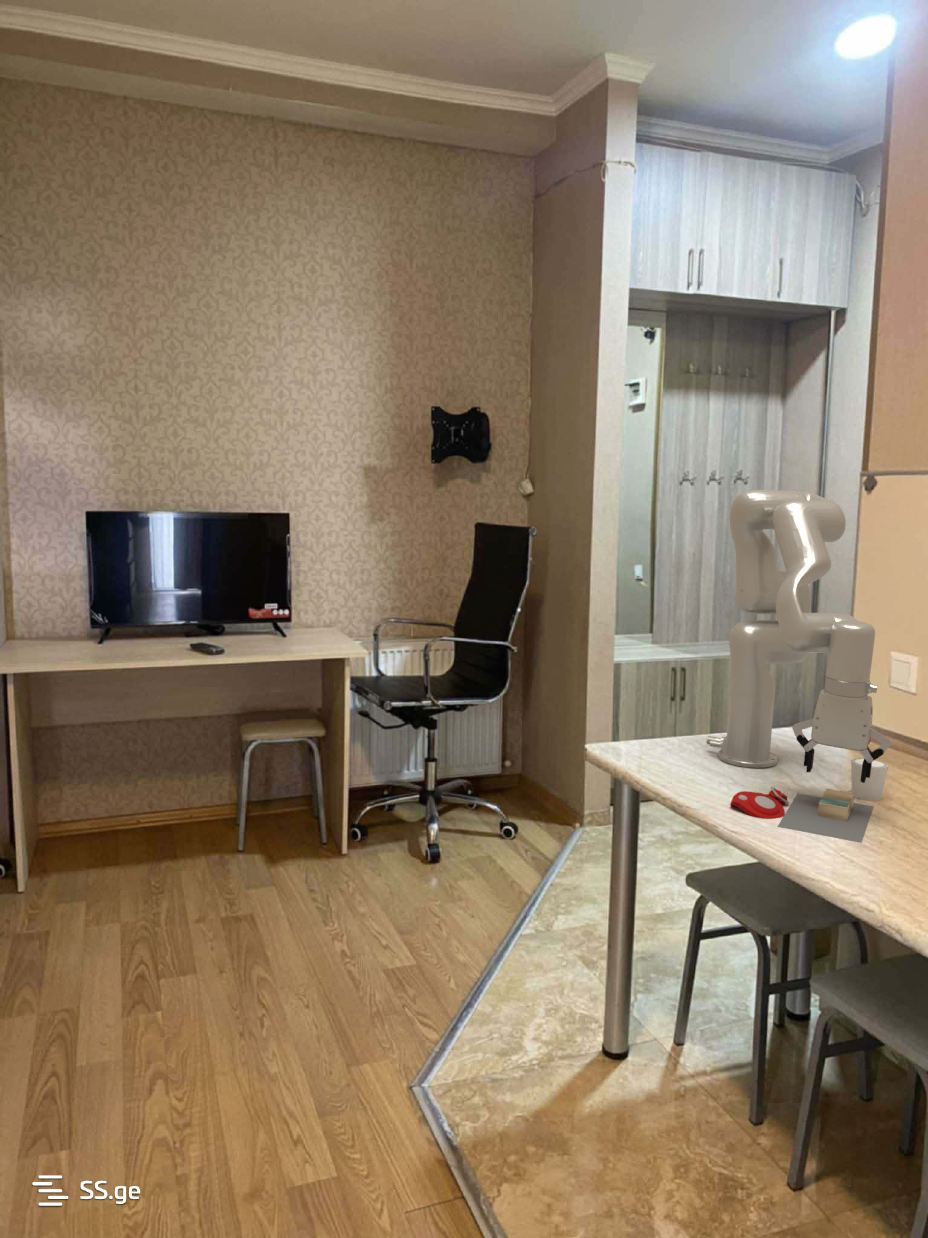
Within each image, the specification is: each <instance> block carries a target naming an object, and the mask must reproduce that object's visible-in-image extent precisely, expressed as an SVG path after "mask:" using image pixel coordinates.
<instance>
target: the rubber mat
mask: <svg viewBox="0 0 928 1238" xmlns="http://www.w3.org/2000/svg"><path fill="white" fill-rule="evenodd" d="M822 797H823V796H815V795H810V794H804V793H796V795H795V797H794V798H793V800H792V802H791V803H790V805H789V806H788V808H787V810H786V811H785V814H784V816H783V817H781V820H780V822H779V823H778V825H777V828H782V829H788V830H792V831H797V832H802V833H803V832H804V833H808V834H815V835H818V836H819V835H820V836H823V837H828V838H834V839H839V840H846V841H850V842H856V843H861V844H862V843H863V840H864V836H865V834H866V830H867V828H868V824H869V821H870V819H871V816H872V813H873V810H874V806H873V805H868V804H862V803H858V802H857V803H856V802H853V807H852V810H851V812H850V814H849V817H848V819H847V821H842V820H837V819H831V818H826V817H821V816H818V808H819V802H820V800H821V798H822Z"/></svg>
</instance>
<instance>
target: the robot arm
mask: <svg viewBox="0 0 928 1238" xmlns="http://www.w3.org/2000/svg"><path fill="white" fill-rule="evenodd" d="M846 525H847V520H846V516H845V513H844V511H843V509H842V508H841V506H840V505H838V504H837V503H836V502H835V501H833V500H831V499H828V498H825V497H824V496H823V497H822V496H820V495H818V494H816V493H813V492H809V491H805V490H804V491H802V490H780V489H779V490H778V489H751V490H746V491H743V492H741V493H739V494H738V495H736V496H735V498H734V499H733V501H732V503H731V507H730V511H729V528H730V533H731V536H732V541H733V545H734V550H735V553H734V554H735V596H736V597H735V598H736V603H737V606H738V609H739V610H740V612H741V611H742V612H743V613H745V614H752V615H776V620H772V619H765V620H764V619H756V620H755V619H754V620H745V621H741V622H738V623H736V624H735V625H734V626H733V627H732V629H731V630H730V633H729V637H728V639H729V640H728V643H729V644H728V645H729V653H730V654H729V657H730V682H729V683H730V685H729V700H728V701H729V702H728V712H727V725H726V736H722V737H721V738H720V737H717V736H713V735H712V736H711V735H707V739H706V744H707V745H709V746H710V747H712V748H720V750H719V751H718V753H717V757H718V759H719V760H720V761H722V762H724V763H726V764H729V765H733V766H737V767H744V768H755V769H757V768H759V769H761V768H762V769H763V768H764V769H765V768H770V767H773V766H775V765H776V764H777V759H778V758H777V757H776V756H775V755H774V754H772V753H771V744H772V732H773V731H772V729H773V722H774V721H773V720H774V719H773V718H774V709H775V697H776V696H775V695H776V693H775V692H776V682H775V680H774V678H773V676H772V674H771V672H770V671H769V668H768V667H767V665H770V664H771V665H773V664H797V663H802V662H804V661H805V660H806V659H807V657H808V656H809V654H810V653H828V654H827V655H828V656H827V664H826V673H825V682H824V689H821V690H820V692H819V694H818V698H817V701H816V706H815V710H814V713H813V714H814V715H813V718H810V719H807V720H803V721H800V722H797V723H794V724H793V726H792V732H793V734H794V736H795V737H796V741H797V742H798V744H799V745H800V746H801V747H802V748H803V751H804V756H803V757H804V758H803V767H806V770H805V771H806V773H811V772H812V770H813V767H814V757H815V751H816V750H815V749H814V748H815V747H816V746H818V745H821V746H826V747H827V746H828V747H832V748H838V749H844V750H851V751H856V752H857V751H858V752H859V753H860V754H861V755H862V758H865V759H864V761H863V765H862V773H861V781H860V782H862V783H865V780H866V778H870V774H871V766H872V762H873V761H874V760H878V759H879V758H880V757H881V756H883V755H884V753H886V751H887V750H888V749H889V747H890V746H891V744H892V740H891V739H890V738H889V737H887V736H885V735H883V734H882V733H880V732H879V731H878V730H876V729H874V728H873V715H874V713H873V697H872V696H870V695H869V694H872V693H875V694H876V693H877V691H878V685H874V684H872V683H871V682H870V681H871V680H870V678H871V671H872V663H873V662H872V661H873V654H874V648H875V638H876V630H875V628H874V626H873V625H872V624H870V623H867V622H865V621H859V620H858V619H857V618H855V617H854V616H852V615H851V614H847V613H843V612H842V613H839V612H838V613H835V612H833V613H831V612H812V608H811V607H812V605H811V604H812V601H811V600H812V599H811V597H812V596H811V591H810V590H811V589H810V586H809V584H812V583H813V582H816V581H818V580H820V579H822V578H823V577H824V576H825V575H827V574H828V572H829V571H830V570H831V568H832V560H831V558H830V555H829V552H828V549H827V546H826V543H833V542H836V541H839V540H840V539H841V537H843V535H844V533H845V530H846ZM763 530H774V533H775V534H774V535H775V537H776V540H777V543H778V548H779V550H780V551H779V552H780V553H781V556H782V561H783V564H784V567H785V568H784V569H785V570H786V571H785V570H784V571H782V570H781V571H780V570H779V571H778V569H777V562H776V561H777V556H776V555H777V553H776V548H775V546H774V543H773V542H772V541H771V539H770V538H769V536H768V535H767V533H766V532H764V531H763ZM809 728H811V735H810V736H811V738H810V739H807V737H806V736H805V734H804V733H803V730H806V729H809ZM871 739H873V740H875V741H876V742H878V743H879V744H880V745H879V746H878V747H877V748H875V749H874V750H872V749H871V748H870V746H869V745H870V742H871Z"/></svg>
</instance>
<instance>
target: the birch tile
mask: <svg viewBox="0 0 928 1238" xmlns="http://www.w3.org/2000/svg"><path fill="white" fill-rule="evenodd" d="M821 797H822V798H821V800H820V802H819V808H818V816H821V817H826V818H831V819H837V820H842V821H847V819H848V817H849V814H850V812H851V810H852V807H853V803H855V802H854V799H855V797H854V793H851V792H849V791H842V790H836V789H831V788H830V789H829V788H826V790H825V791H824V792H823V795H822V796H821Z"/></svg>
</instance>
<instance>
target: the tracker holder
mask: <svg viewBox="0 0 928 1238" xmlns="http://www.w3.org/2000/svg"><path fill="white" fill-rule="evenodd" d="M770 789H771V790H769V792H768V793H762V792H756V791H755V792H754V791H748V790H746V791H739V792H737V793H735V794H734V795H733V796H732V799H731V801H730V805H729V806H730V807H731V808H735V807H737V808H739V809H740V810H741V811H742V812H743V813H744V814H746V815H748V816H750V817H752V818H757V819H762V820H763V819H764V820H773V819H774V820H775V819H782V818H783V816H784V815H785V813H786V810H785V808H784V806H785V805H786V804H787V805H789V804H790V802H789V800H788V795H787V794H785V793H784V792H782V791H780V790H779V789H777V788H775V787H774V786H770Z"/></svg>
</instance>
